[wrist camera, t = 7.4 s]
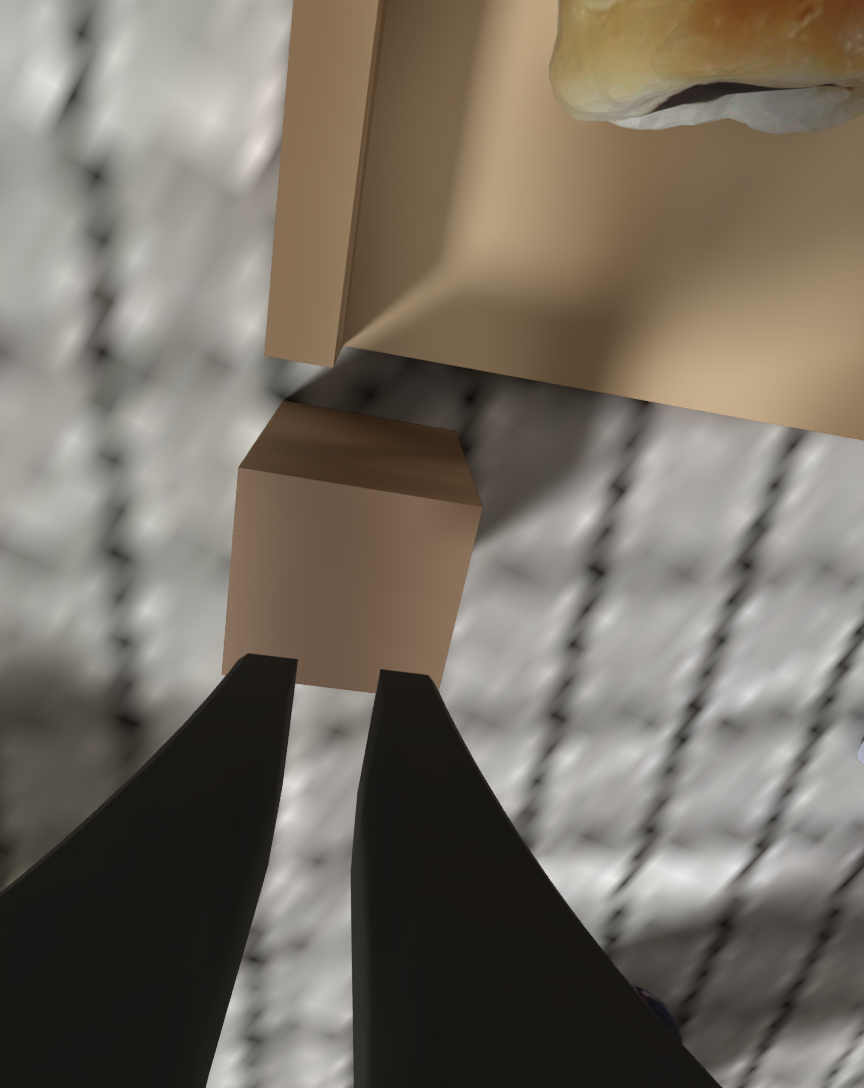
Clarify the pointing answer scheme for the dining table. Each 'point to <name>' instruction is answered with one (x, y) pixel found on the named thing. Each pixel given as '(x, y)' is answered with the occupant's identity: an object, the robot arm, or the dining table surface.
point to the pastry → (710, 62)
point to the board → (556, 224)
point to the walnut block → (349, 546)
